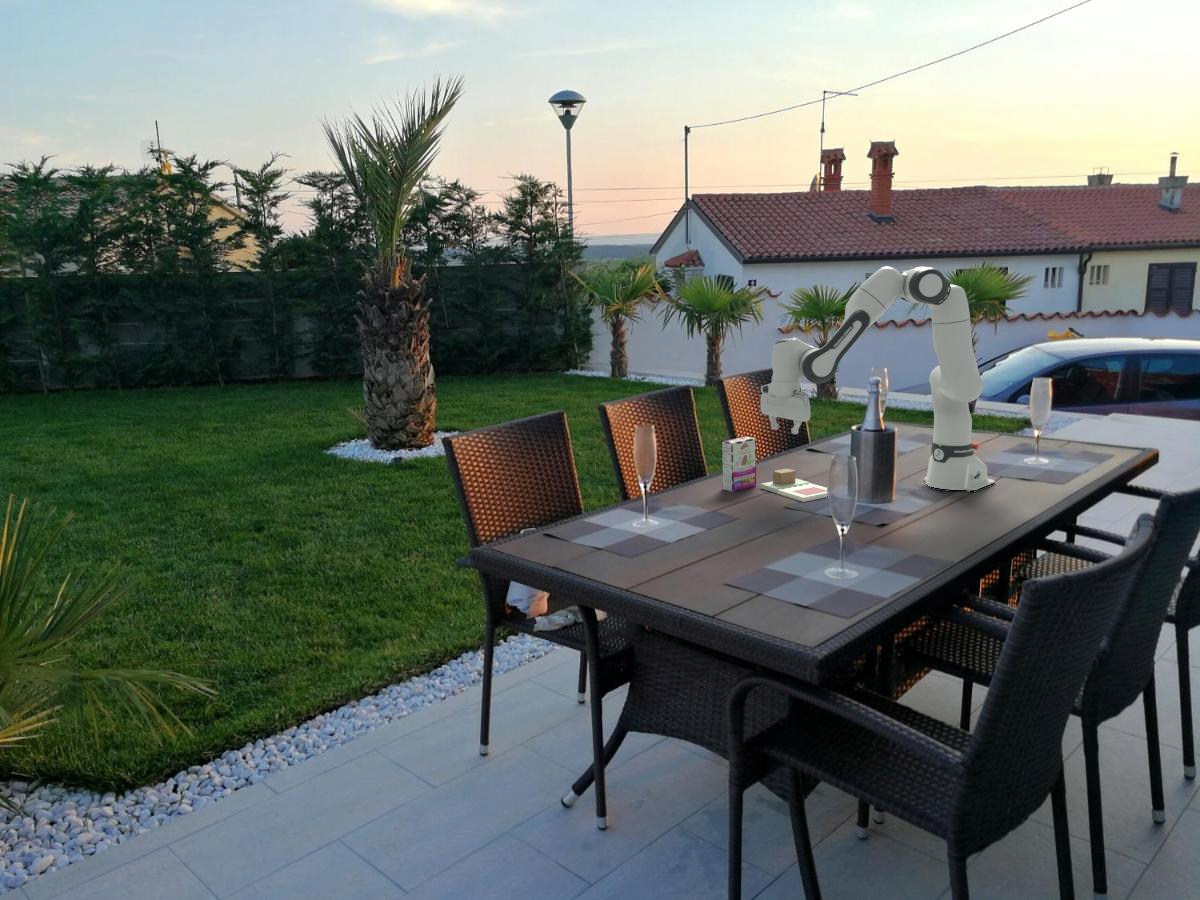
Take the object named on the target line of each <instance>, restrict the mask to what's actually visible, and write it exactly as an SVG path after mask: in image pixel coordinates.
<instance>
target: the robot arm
mask: <svg viewBox="0 0 1200 900" xmlns="http://www.w3.org/2000/svg"><path fill="white" fill-rule="evenodd" d="M899 299H901V300H903V301H905V302H908V303H912V304H916V305H917V304H919V305H920V304H926V305H927V306H928V308H929V310H930V313H931V331H932V345H933V350H934V352H935V354H936V357H937V361H938V365H937V366H935V367H934V368H933V369H932V370H931V372H930V375H929V379H928V382H929V385H930V391H931V400H932V408H933V409H932V410H933V417H934V418H933V420H934V421H933V436H932V437H933V441H932V442H931V444H930V448H931V450H930V453H931V456H930V457H929V460H928V464H927V465H928V467H927V471H926V472H927V474H926V476H924V479H923V480H925V485H926V484H927V485H928V486H927V485H926V486H927V487H929V486H930V487H929V488H931V487H934V488H933V489H935V488H940V489H949V490H977V489H979V488H981V487H984V486H986V485H989V484H991V483H994V482H995V483H996V481H995V479H993V478H990V477H988V467H987V465H986V463H984V462H983V461H982V460H981V459H980V458H978V457H977V456H976V455H975V451H974V450H977V451H978V450H979V449H980V443H975V442H973V443H972V442H971V441H972V438H971V437H972V428H973V427H972V425H973V418H972V416H971V412H970V405H969V403H970V402H973V401H975V400H976V399H978V398H980V396H981V394H982V393H983V390H984V381H983V378H982V377H981V374H980V370H979V367H978V363H977V359H976V355H975V351H974V346H973V340H972V339H973V338H972V327H971V324H972V323H971V315H970V313H971V312H970V306H969V301H968V297H967V294H966V291H965V290H964V288H963V287H962V286H959V285H956V284H950V283H949V281H948V280H947V278H946V277H945V275H944V274H943V273H942V271H940V270H939V269H937V268H935V267H932V266H917V267H911V268H908V269H905V270H903V271H899V270H898V269H895V268H894V267H891V266H883V267H881V268H879V269H878V270H876V271H875V272H874V273H872V274H871V275H870V276H869V277H868V278H867V279H866V280H865V281H863V283H862V284H860V285H859V287H858V288H857V289H856V290H855V291H854V292H853V294H852V295H851V297H850V298H849V299H848V302H847V303H845V304H846V305H845V308H844V319H843V322H842V323H841V326H839V328H838V329H837V330H836V331H835V332H834V334H833V335H832V336H831V337H830V338H829V340H828V341H827V342H826V343H825V344H824V345H823V346H822V347H821V348H818V347H815V346H812V345H811V344H808V343H805V342H804V341H802V340H801V339H799V338H798V337H793V336H792V337H785V338H781V339H778V340H777V341H776V342H775V343H774V344H773V348H772V353H771V354H772V355H771V356H772V357H771V368H772V376H771V382H770V383H768V384H764V385H761V386H760V392H761V395H760V411H761V413H762V414H763V415H766V416H768V419H769V421H770V424H771V430H775V431H777V430H779V427H780V426H779V425H780V424H779V423H778V422H777V418H781V419H785V420H791V421H793V424H794V425H793V427H791V428H790V433H791V434H793V435H798V434H799V429H800V427H801V425H802V422H808V421H810V419H811V418H812V417H811V416H812V415H811V411H812V410H811V402H810V397H809V395H808V394H807V392H805V391H801V390H800V389H801V385H800V384H801V377H805V378H806V380H808V382H811V383H813V384H818V385H819V384H825V383H827V382H828V381H830V380H832V379H833V378H834V376H835V374H836V373H837V370H838V367H839V365H840V362H841V360H842V358H843V357H845V354H846V353H847V352H848V351H849V350H850V349H851V348H852V347H853V345H854V344H855V343H856V342H857V340H858V339H859V338H860V336H861V335H862V334H863V333H864V332H866V330H868V329H869V328H870V326H872V325H873V324H874V323H875V322H877V321H878V319H880V318H881V317H882V316H883V315H884V314H885V313H886V311H888V309H890V307H891V306H892V304H894V303H895V302H896V301H898V300H899ZM940 489H939V490H940ZM949 490H948V491H949ZM977 491H978V490H977Z"/></svg>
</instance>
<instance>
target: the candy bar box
mask: <svg viewBox="0 0 1200 900" xmlns="http://www.w3.org/2000/svg"><path fill="white" fill-rule="evenodd" d="M721 446H722V447H721V450H722V452H721V453H722V458H721V459H722V490H725V491H728V492H732V493H734V492H737V491H743V490H746V489H750V488H754V487H757V447H756V446H757V438H756V437H753V436H752V437H751V436H742V437H738V438H732V439H728V440H724V441H723V440H722V441H721Z"/></svg>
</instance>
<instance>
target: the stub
mask: <svg viewBox="0 0 1200 900" xmlns="http://www.w3.org/2000/svg"><path fill="white" fill-rule="evenodd" d="M796 472H797V471H796V470H794V469H790V468H781V469H778V470H777V469H776V470H773V471H772V481H769V482H763V483H760V484H759V485H760V488H759V489H763V490H764V491H768V492H771V493H775V494H777V490H778V489H783V488H788V487H793V486H799V485H804V484H809V483H811V482H809V481H806V480H804V479H799V478H796Z"/></svg>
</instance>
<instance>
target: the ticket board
mask: <svg viewBox="0 0 1200 900" xmlns="http://www.w3.org/2000/svg"><path fill="white" fill-rule="evenodd" d="M827 488H828V487H825V486H821V485H818V484H815V483H811V482H810V483H809V484H804V485H799V486H793V487H788V488H783V489H778V490H777V493H776V494H777V495H780V496H782V497H786V498H790V499H793V500H797V501H800V502H803V503H805V502H810V501H814V500H819V499H825V498H828V497H827Z"/></svg>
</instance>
